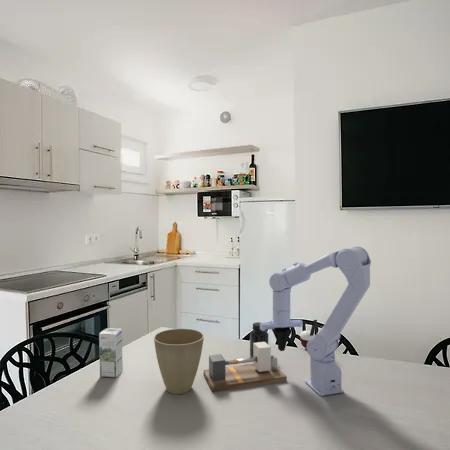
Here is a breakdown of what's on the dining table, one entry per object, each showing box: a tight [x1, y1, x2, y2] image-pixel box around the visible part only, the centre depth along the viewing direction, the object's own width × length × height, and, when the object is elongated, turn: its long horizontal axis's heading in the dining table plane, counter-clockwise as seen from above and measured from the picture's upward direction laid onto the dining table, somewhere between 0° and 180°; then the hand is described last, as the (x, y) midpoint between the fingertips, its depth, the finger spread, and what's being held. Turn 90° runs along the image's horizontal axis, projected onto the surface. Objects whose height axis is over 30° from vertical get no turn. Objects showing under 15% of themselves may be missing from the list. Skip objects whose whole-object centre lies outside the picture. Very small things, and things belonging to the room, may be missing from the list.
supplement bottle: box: [249, 321, 269, 358], centre depth 132 cm, size 7×7×12 cm
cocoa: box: [299, 319, 318, 349], centre depth 141 cm, size 10×6×12 cm, turn 177°
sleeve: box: [252, 342, 272, 372], centre depth 116 cm, size 5×4×8 cm
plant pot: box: [153, 328, 205, 395], centre depth 108 cm, size 15×15×16 cm
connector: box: [208, 353, 226, 381], centre depth 112 cm, size 5×4×6 cm
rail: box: [225, 355, 278, 371], centre depth 115 cm, size 2×20×5 cm, turn 106°
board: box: [203, 363, 288, 393], centre depth 114 cm, size 12×24×2 cm, turn 106°
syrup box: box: [98, 327, 124, 378], centre depth 117 cm, size 6×6×14 cm
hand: (281, 349), depth 118 cm, fingers closed
